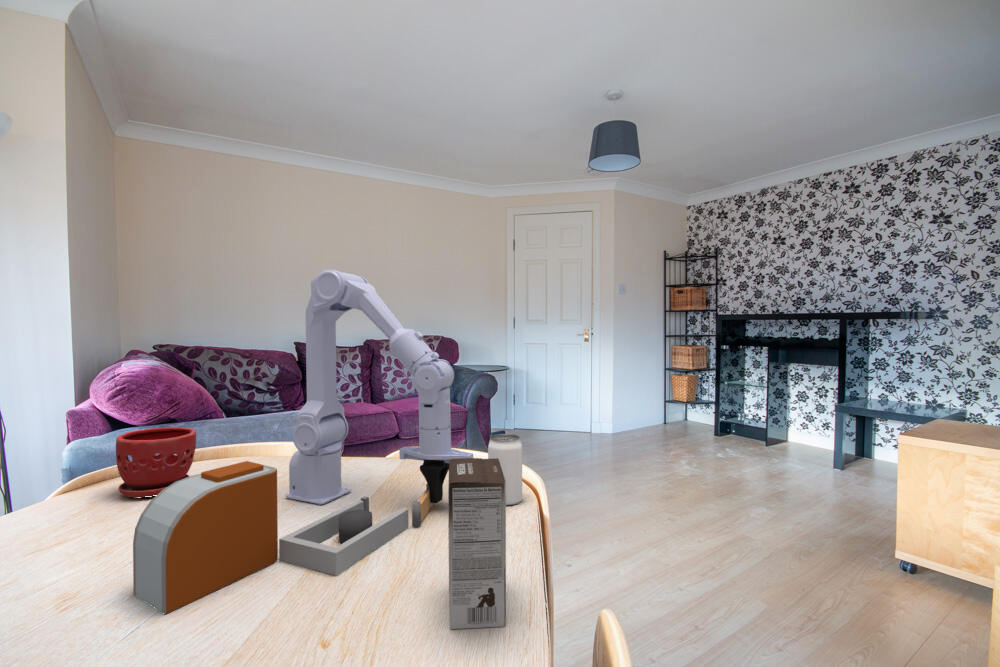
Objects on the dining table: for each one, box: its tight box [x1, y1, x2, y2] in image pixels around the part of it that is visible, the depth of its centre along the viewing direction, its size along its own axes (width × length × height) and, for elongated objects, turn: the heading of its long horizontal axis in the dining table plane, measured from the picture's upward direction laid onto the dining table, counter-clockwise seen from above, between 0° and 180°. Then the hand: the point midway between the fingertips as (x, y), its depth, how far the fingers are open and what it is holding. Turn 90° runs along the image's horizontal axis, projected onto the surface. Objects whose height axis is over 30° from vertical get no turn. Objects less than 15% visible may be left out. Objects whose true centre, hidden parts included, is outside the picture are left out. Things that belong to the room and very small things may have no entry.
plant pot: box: [115, 426, 197, 498], centre depth 93 cm, size 13×13×12 cm
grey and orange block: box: [132, 460, 279, 615], centre depth 61 cm, size 15×8×14 cm, turn 150°
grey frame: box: [278, 496, 409, 576], centre depth 71 cm, size 10×18×3 cm, turn 156°
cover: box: [411, 483, 434, 528], centre depth 80 cm, size 10×1×4 cm, turn 174°
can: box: [487, 433, 523, 507], centre depth 87 cm, size 6×6×12 cm
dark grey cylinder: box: [338, 510, 373, 545], centre depth 72 cm, size 5×5×4 cm
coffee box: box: [447, 457, 507, 630], centre depth 54 cm, size 9×6×16 cm
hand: (436, 501), depth 84 cm, fingers closed, pressing on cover
